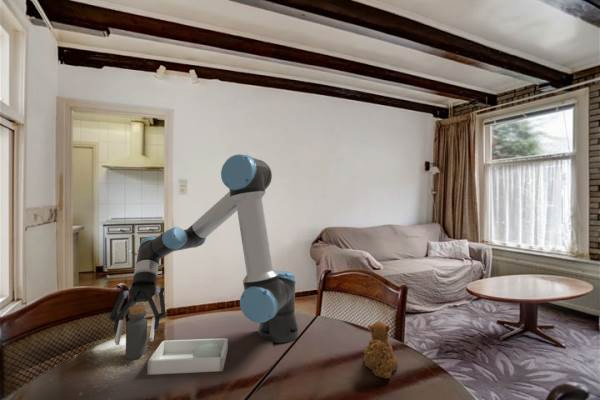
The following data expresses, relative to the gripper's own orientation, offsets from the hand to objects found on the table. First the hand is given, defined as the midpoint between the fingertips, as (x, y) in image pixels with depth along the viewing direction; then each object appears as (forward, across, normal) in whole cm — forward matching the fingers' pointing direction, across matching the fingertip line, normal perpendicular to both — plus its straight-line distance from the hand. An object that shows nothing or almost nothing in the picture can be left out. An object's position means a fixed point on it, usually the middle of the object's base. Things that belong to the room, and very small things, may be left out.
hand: (134, 341), depth 93 cm
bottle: (+2, 0, -6) cm, 7 cm away
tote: (+9, -16, +1) cm, 19 cm away
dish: (+9, -21, +2) cm, 23 cm away
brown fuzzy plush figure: (+22, -69, +13) cm, 74 cm away
